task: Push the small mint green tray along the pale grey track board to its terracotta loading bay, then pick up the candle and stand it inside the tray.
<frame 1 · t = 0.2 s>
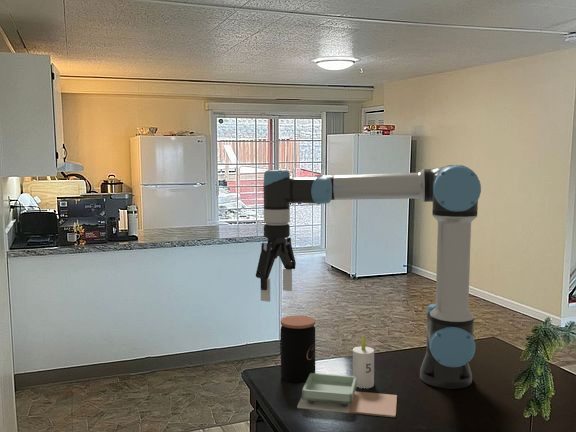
hand: (276, 295, 159), 27 cm above the table, fingers open, 13 cm apart
coffee jar: (298, 378, 167), on the table
track board: (348, 402, 149), on the table
mint green tray: (330, 390, 150), point 3 cm above the table, slide at 0.0 cm
candle: (363, 384, 161), on the table
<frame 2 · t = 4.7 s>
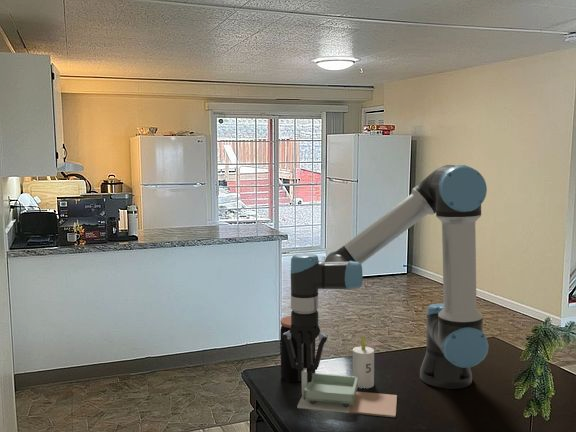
hand: (305, 392, 152), 2 cm above the table, fingers closed
mint green tray: (331, 390, 150), point 3 cm above the table, slide at 0.4 cm, touching gripper
everything else where it was.
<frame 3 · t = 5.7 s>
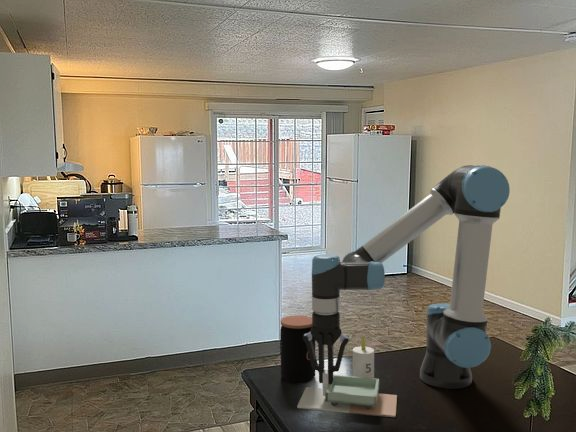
hand: (326, 394, 151), 2 cm above the table, fingers closed
mint green tray: (353, 392, 149), point 3 cm above the table, slide at 6.3 cm, touching gripper
everything else where it was.
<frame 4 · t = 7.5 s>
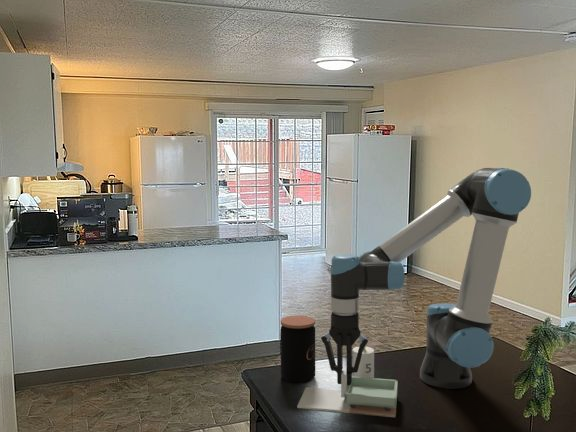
hand: (344, 395, 149), 2 cm above the table, fingers closed
mint green tray: (371, 394, 148), point 3 cm above the table, slide at 11.4 cm, touching gripper
everything else where it was.
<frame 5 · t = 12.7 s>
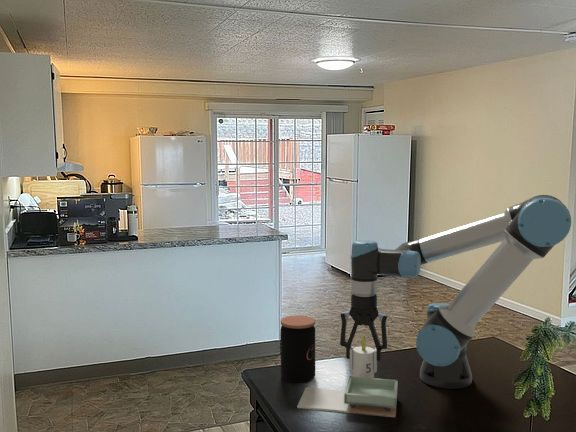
hand: (363, 369, 161), 4 cm above the table, fingers closed on candle, 6 cm apart
mint green tray: (371, 394, 148), point 3 cm above the table, slide at 11.4 cm
candle: (363, 384, 161), on the table, touching gripper
everything else where it was.
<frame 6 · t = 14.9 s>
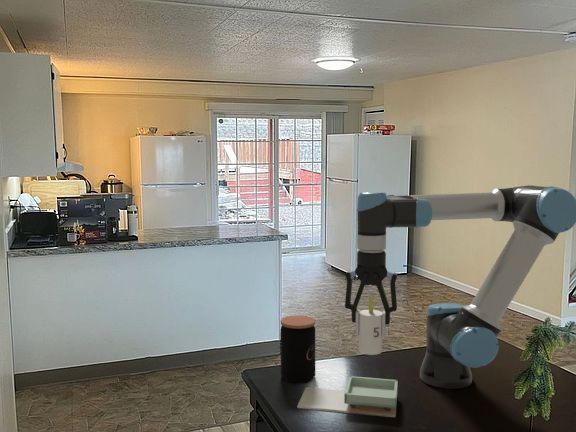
hand: (370, 334, 146), 19 cm above the table, fingers closed on candle, 6 cm apart
candle: (370, 351, 147), point 15 cm above the table, touching gripper
everything else where it was.
when the fingers open (9 cm above the table, at t = 17.1 s): candle drops 1 cm, resting on mint green tray.
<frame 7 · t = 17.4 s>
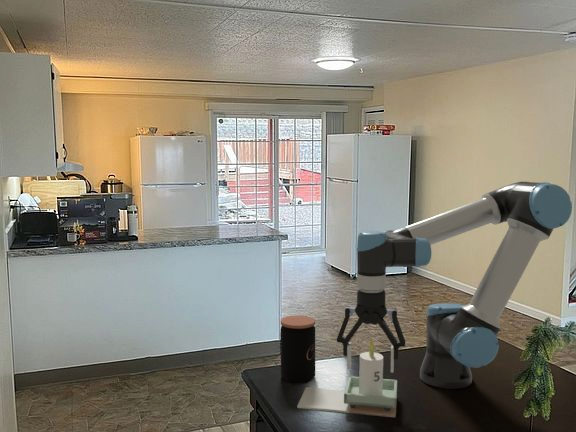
hand: (370, 369, 147), 10 cm above the table, fingers open, 11 cm apart
mint green tray: (371, 394, 148), point 3 cm above the table, slide at 11.3 cm, touching candle
candle: (370, 394, 148), point 3 cm above the table, touching mint green tray
everything else where it was.
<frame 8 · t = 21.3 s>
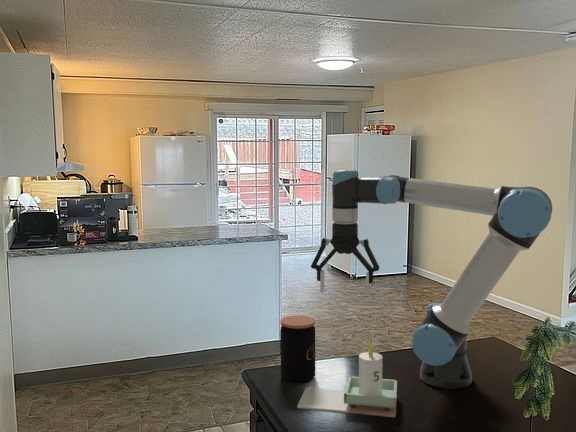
hand: (344, 292, 163), 27 cm above the table, fingers open, 13 cm apart
nothing on the table moved.
at the end: mint green tray slide at 11.3 cm; candle inside the target area on the mint green tray (0.2 cm from its centre), point 2.8 cm above the mint green tray's base; candle tilted 0° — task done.
